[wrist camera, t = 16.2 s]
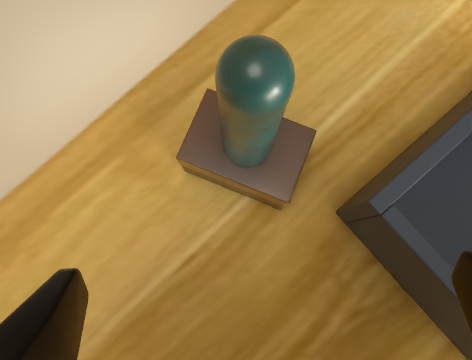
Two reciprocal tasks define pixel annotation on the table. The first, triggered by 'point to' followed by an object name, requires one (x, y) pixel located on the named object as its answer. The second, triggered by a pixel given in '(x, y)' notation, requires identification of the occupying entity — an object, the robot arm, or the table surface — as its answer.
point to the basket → (424, 218)
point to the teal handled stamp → (249, 125)
